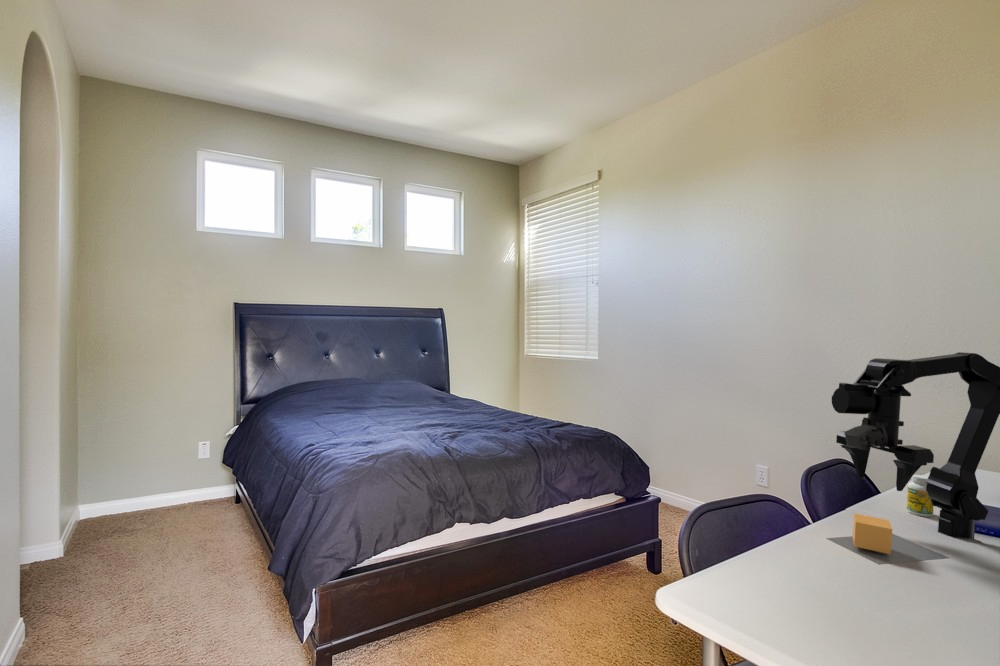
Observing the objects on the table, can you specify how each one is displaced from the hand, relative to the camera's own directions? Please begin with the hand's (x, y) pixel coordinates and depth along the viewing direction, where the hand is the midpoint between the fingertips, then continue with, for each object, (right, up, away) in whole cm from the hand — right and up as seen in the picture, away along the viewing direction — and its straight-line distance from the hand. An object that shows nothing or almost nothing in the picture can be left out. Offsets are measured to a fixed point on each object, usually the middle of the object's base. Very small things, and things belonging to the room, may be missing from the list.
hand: (879, 484), depth 118 cm
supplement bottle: (+23, -13, +18) cm, 32 cm away
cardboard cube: (-9, -10, -10) cm, 17 cm away
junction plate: (-5, -12, -9) cm, 16 cm away
